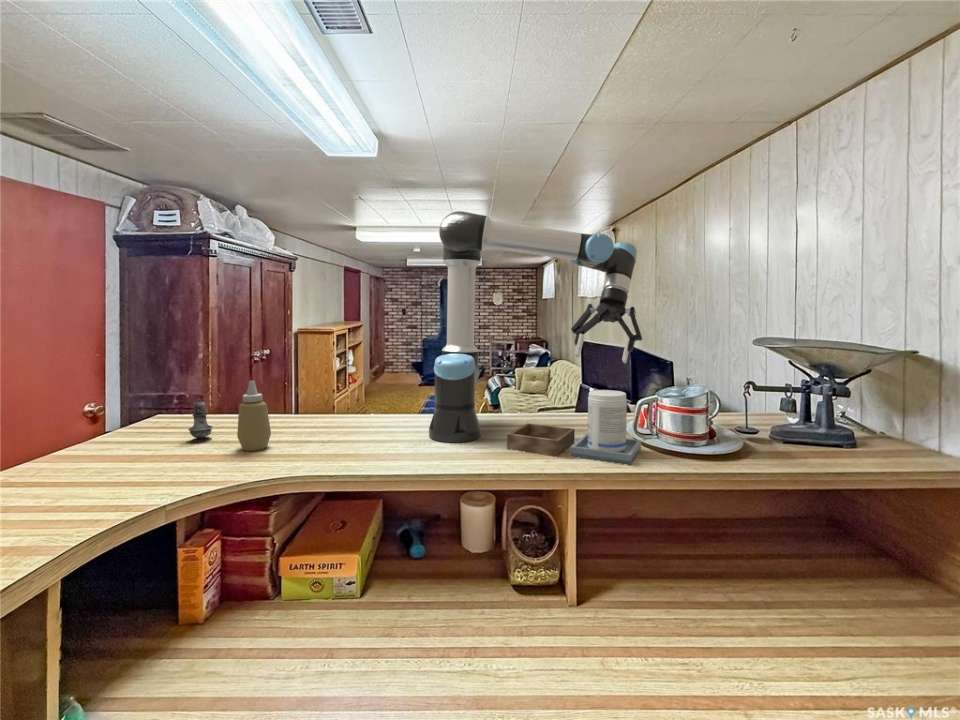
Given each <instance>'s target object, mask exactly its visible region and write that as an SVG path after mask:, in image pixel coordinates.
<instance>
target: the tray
mask: <svg viewBox="0 0 960 720" xmlns="http://www.w3.org/2000/svg"><path fill="white" fill-rule="evenodd" d="M641 450H642V440H641V439H633V438H626V448H625V450H624V451H622V452H611V451H604V450H597V449H590V448H589V447H588V433H586V434H584V435H582V436H581V438H579V439H578V440H577V441H575V442H574V444H573V445H572V446H570V457H571V458H572V457H573V458H577V457H579V458H578V459H584V458H585V459H584V460H591V459H593V460H592V461H597V460H600V461H599V462H604V461H606V463H611V462H614V463H613V464H617V463H621V464H620V465H624V464H627V465H626V466H632V464H633V463H634V462H635V459H636V458H637V457H638V455H639V454H640V452H641Z"/></svg>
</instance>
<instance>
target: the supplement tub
mask: <svg viewBox="0 0 960 720" xmlns="http://www.w3.org/2000/svg"><path fill="white" fill-rule="evenodd" d="M627 404H628V400H627V393H626V392H624V391H621V390H613V389H612V390H611V389H598V390H597V389H596V390H595V389H594V390H590V391H589V392H588V397H587V434H588V447H589V448H590V449H597V450H604V451H611V452H622V451H624V450H625V448H626V439H627V413H628V412H627V407H628V405H627Z"/></svg>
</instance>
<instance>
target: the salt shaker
mask: <svg viewBox="0 0 960 720" xmlns="http://www.w3.org/2000/svg"><path fill="white" fill-rule="evenodd" d="M207 415H208V413H207V410H206V403H205V402H204V401H201V398H197V401H196V402H194V403H193V414H192V417H193V425H192V427H189V428H188V430H187V431H189V433H190V435H191V437H192V438H193V439H191V440H190V443H191V444H192V443H193V444H202V443H207V442H210V441H212V440H213V438H212V437H211V436H209V435H210V434H211V433H212V431H213V430H212V429H213V427H214V426H213V425H209V423H208V422H207V421H208V420H207Z"/></svg>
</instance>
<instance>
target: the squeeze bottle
mask: <svg viewBox="0 0 960 720" xmlns="http://www.w3.org/2000/svg"><path fill="white" fill-rule="evenodd" d="M263 399H264V398H263V394H262V393H258V389H257V385H256V381H255V380H249V381H248V386H247V391H246V393H245V394H243V395H242V403H240V404H238V418H237V435H236V436H237V437H236V438H237V439H238V441H239V444H240V446H241V449H242V450H243V451H247V452H249V451H250V452H254V451H260V450H263V449H266V448H267V447H268V444H269V443H270V438H271V436H272V429H271V424H270V417H269V412H268V404H267V403H266V402H265V401H263Z"/></svg>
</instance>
